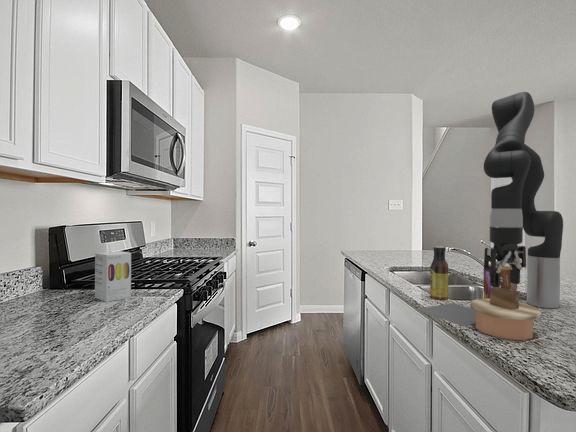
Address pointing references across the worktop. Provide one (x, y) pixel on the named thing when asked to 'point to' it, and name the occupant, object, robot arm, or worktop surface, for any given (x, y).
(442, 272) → the sauce bottle
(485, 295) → the candy box
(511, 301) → the lid
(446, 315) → the mat
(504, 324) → the bowl
